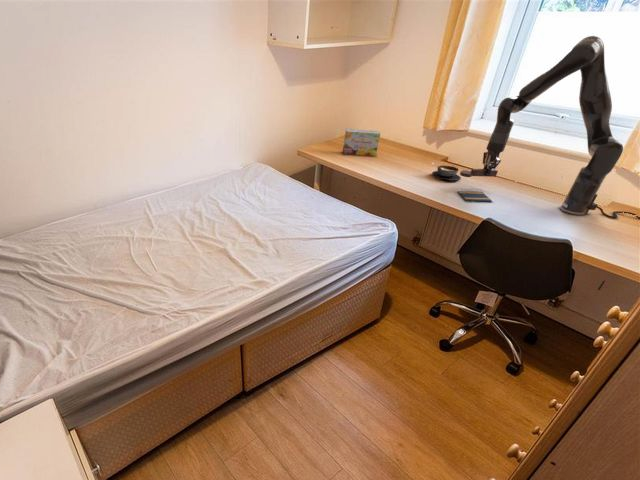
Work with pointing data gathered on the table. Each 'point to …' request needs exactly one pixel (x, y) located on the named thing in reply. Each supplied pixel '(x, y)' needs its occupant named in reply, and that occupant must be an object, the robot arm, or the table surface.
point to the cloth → (474, 196)
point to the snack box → (361, 142)
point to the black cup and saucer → (446, 173)
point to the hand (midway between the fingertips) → (485, 174)
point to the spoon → (478, 173)
